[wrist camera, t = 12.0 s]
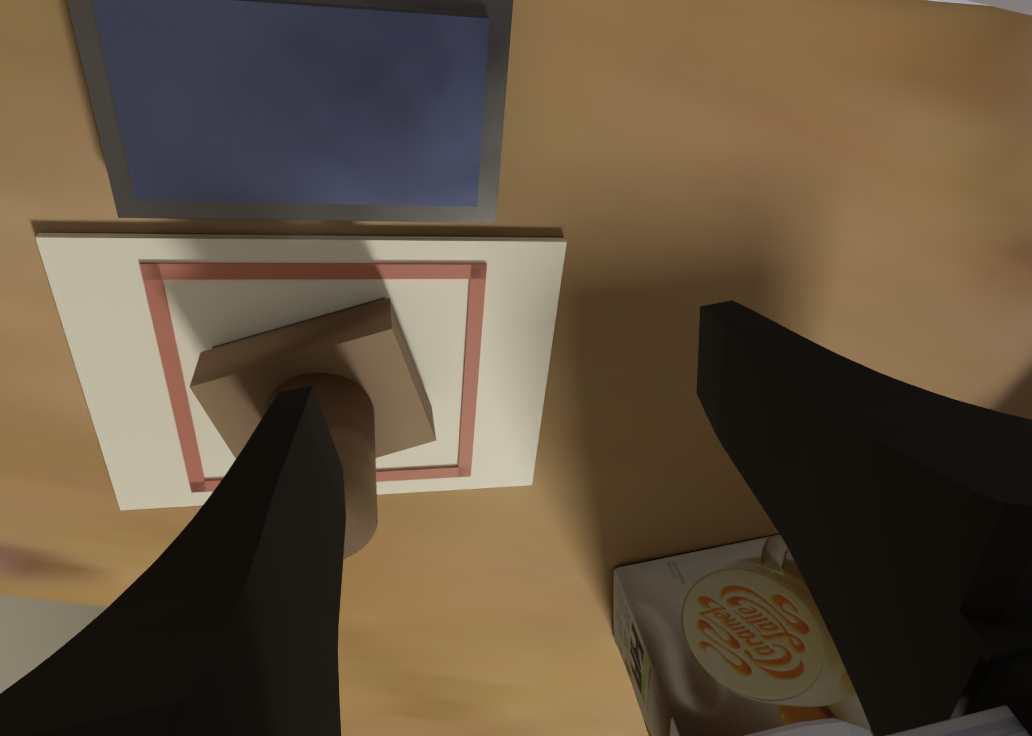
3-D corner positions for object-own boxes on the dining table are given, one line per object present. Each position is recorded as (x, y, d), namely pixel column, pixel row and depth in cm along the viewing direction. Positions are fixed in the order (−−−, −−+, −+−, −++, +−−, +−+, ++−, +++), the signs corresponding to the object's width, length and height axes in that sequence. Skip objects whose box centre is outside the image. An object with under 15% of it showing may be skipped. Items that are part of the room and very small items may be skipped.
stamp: (389, 289, 22) (399, 426, 17) (430, 397, 25) (450, 544, 20) (203, 343, 22) (154, 497, 17) (264, 445, 25) (239, 606, 20)
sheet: (564, 237, 23) (567, 243, 22) (530, 479, 29) (532, 486, 28) (39, 232, 20) (34, 239, 19) (122, 504, 26) (119, 512, 25)
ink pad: (505, -17, 18) (516, -8, 17) (489, 206, 22) (496, 227, 20) (74, -52, 16) (51, -45, 15) (129, 199, 20) (115, 221, 18)
